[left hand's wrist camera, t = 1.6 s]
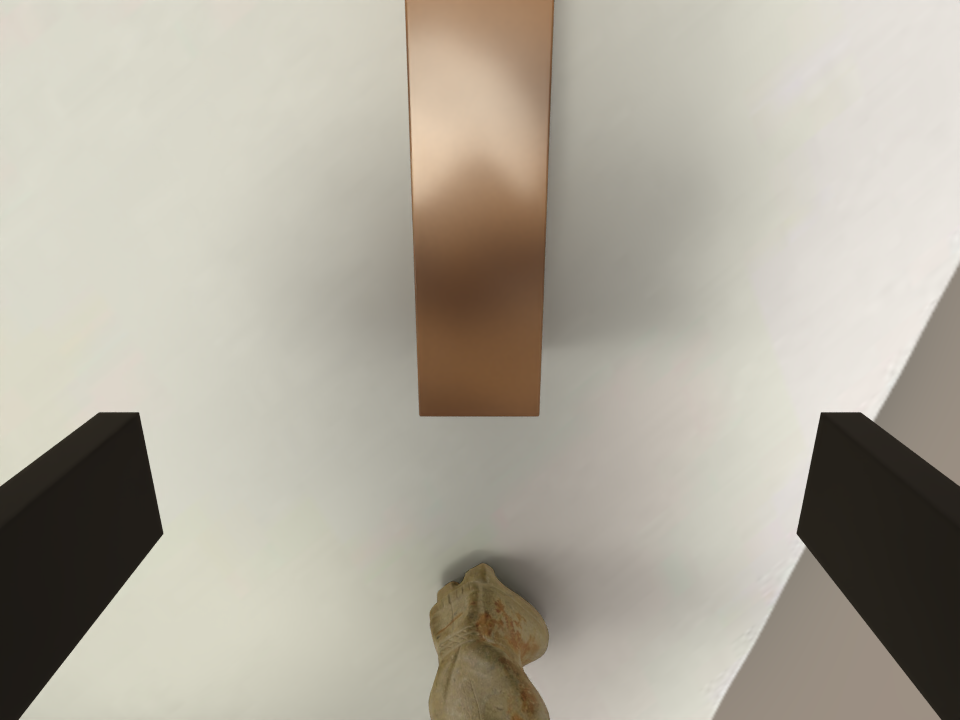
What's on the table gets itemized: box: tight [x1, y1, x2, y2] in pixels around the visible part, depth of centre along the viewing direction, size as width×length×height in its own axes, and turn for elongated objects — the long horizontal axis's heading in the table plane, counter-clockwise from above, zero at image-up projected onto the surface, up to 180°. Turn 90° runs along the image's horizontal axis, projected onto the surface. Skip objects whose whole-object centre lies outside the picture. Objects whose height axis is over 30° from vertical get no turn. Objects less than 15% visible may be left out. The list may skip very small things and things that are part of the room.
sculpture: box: [429, 563, 550, 720], centre depth 31 cm, size 6×7×15 cm
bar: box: [405, 0, 554, 416], centre depth 26 cm, size 23×5×8 cm, turn 0°
